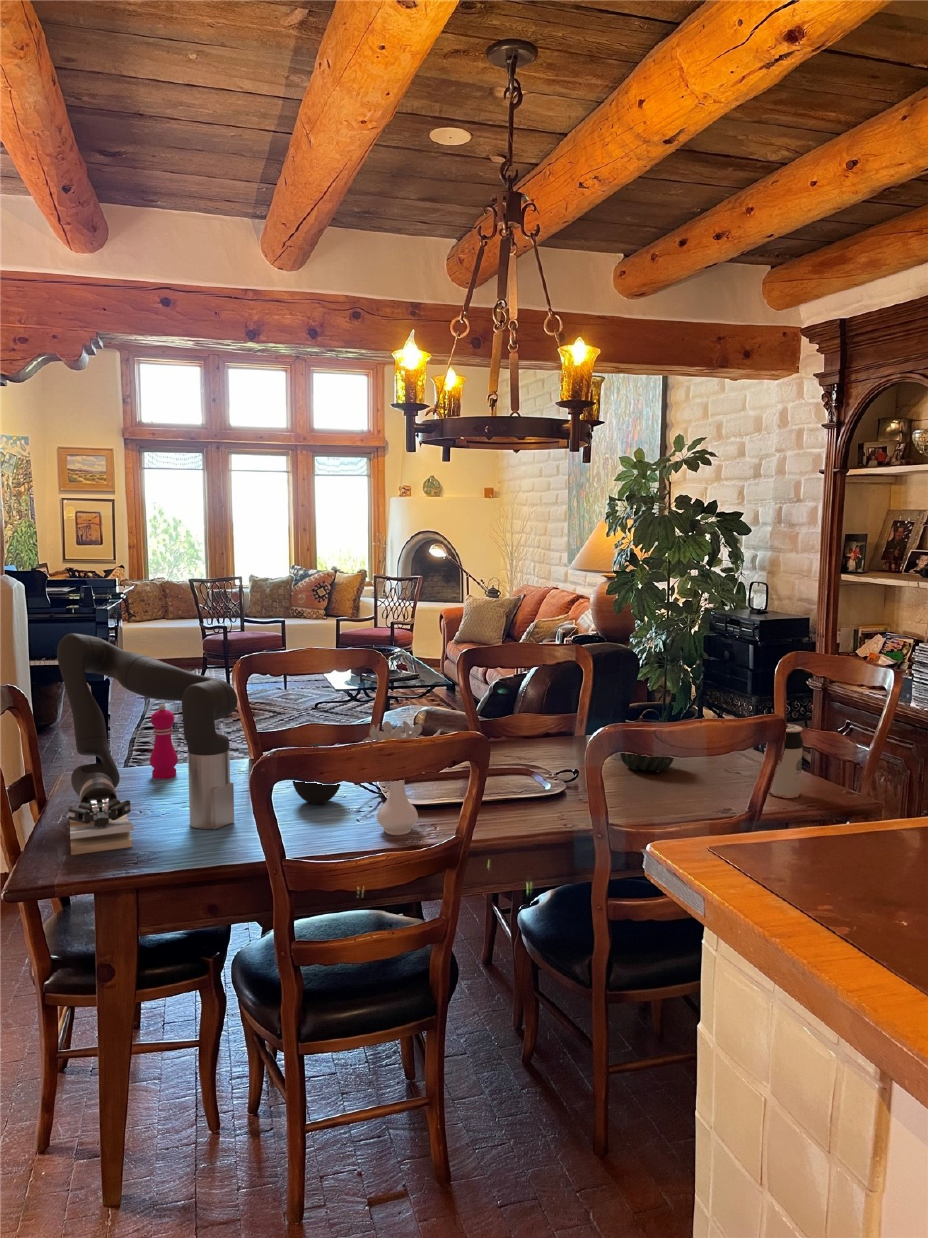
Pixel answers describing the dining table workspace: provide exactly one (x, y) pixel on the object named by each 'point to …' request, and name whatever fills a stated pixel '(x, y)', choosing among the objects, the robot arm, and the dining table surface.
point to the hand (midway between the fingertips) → (101, 823)
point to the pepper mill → (163, 745)
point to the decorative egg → (315, 790)
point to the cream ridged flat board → (100, 840)
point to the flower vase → (396, 784)
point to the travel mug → (790, 764)
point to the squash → (646, 761)
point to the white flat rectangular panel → (100, 829)
